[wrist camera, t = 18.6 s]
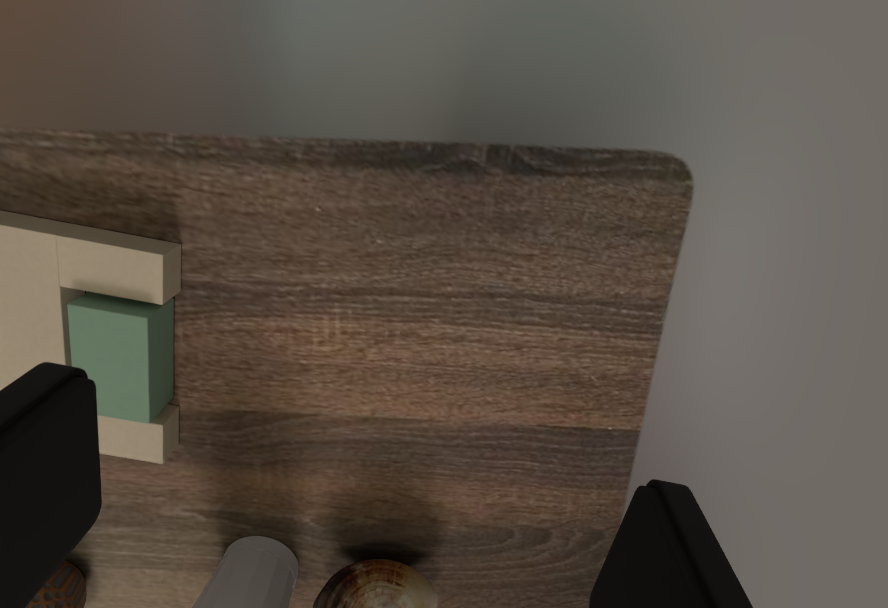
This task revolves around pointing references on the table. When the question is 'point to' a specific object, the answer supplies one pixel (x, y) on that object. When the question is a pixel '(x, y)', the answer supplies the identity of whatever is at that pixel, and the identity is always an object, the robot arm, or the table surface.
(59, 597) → the vase
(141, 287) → the beige c-shaped block
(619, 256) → the table surface
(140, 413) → the green block
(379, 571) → the seashell
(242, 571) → the cup
